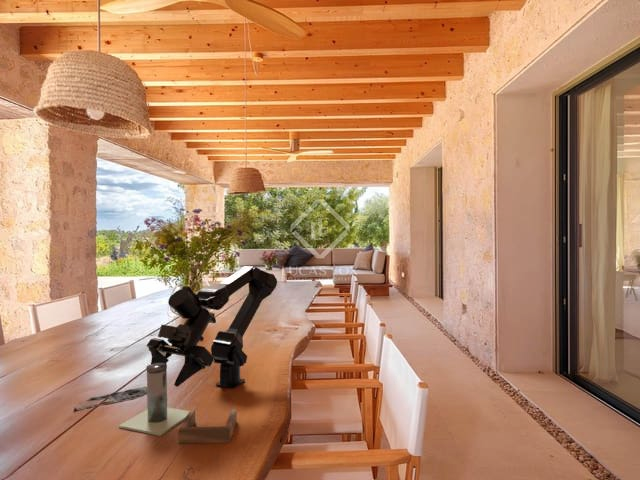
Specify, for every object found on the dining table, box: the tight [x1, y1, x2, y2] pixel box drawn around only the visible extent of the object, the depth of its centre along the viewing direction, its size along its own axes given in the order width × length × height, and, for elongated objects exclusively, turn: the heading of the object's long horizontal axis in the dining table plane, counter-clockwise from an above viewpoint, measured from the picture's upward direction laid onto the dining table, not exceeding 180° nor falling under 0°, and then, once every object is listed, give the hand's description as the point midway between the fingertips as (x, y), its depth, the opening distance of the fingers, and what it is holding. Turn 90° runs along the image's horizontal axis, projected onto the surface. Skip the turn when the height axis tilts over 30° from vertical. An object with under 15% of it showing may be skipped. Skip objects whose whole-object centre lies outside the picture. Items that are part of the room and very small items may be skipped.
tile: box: [118, 406, 190, 437], centre depth 105 cm, size 12×12×1 cm
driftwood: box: [73, 386, 147, 411], centre depth 118 cm, size 21×7×2 cm, turn 122°
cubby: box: [177, 408, 238, 444], centre depth 99 cm, size 10×11×3 cm
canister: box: [146, 363, 168, 423], centre depth 105 cm, size 5×5×13 cm
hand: (162, 382), depth 106 cm, fingers open, 9 cm apart
